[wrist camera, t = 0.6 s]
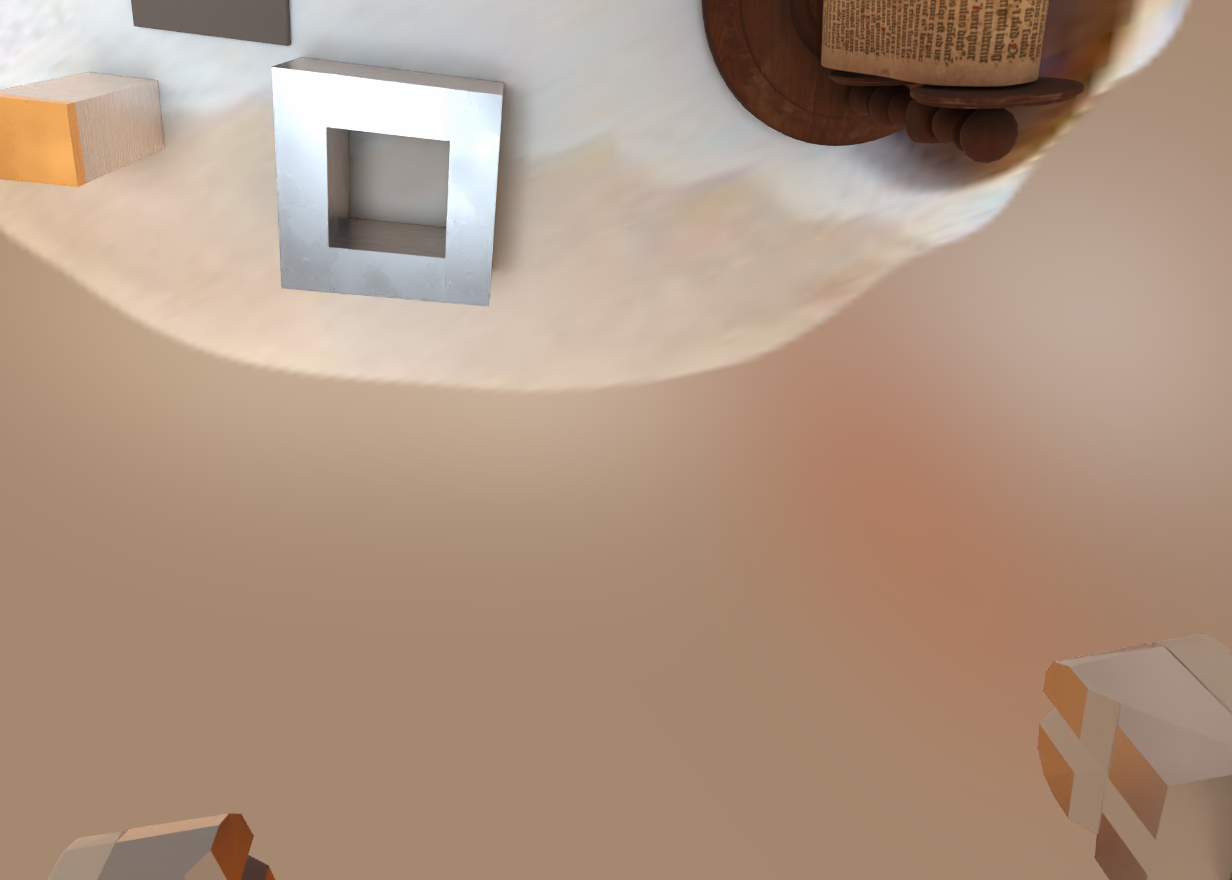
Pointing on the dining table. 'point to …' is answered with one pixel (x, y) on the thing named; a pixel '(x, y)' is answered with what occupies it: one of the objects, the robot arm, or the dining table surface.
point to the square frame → (319, 181)
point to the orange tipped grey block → (77, 127)
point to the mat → (218, 18)
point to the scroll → (886, 68)
